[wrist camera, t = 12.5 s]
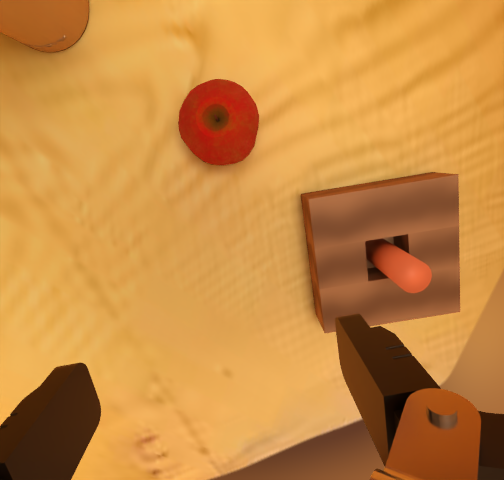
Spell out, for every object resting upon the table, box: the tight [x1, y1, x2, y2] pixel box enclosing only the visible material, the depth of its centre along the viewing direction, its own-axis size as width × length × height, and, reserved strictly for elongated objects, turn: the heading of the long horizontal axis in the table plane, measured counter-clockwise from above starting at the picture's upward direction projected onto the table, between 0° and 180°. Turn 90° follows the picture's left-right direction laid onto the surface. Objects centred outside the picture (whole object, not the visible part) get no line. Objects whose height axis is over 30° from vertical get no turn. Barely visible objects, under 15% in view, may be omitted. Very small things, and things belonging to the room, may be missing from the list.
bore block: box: [301, 172, 460, 333], centre depth 41 cm, size 16×16×5 cm
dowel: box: [365, 238, 432, 293], centre depth 37 cm, size 3×3×10 cm
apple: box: [178, 79, 259, 165], centre depth 34 cm, size 8×8×11 cm
